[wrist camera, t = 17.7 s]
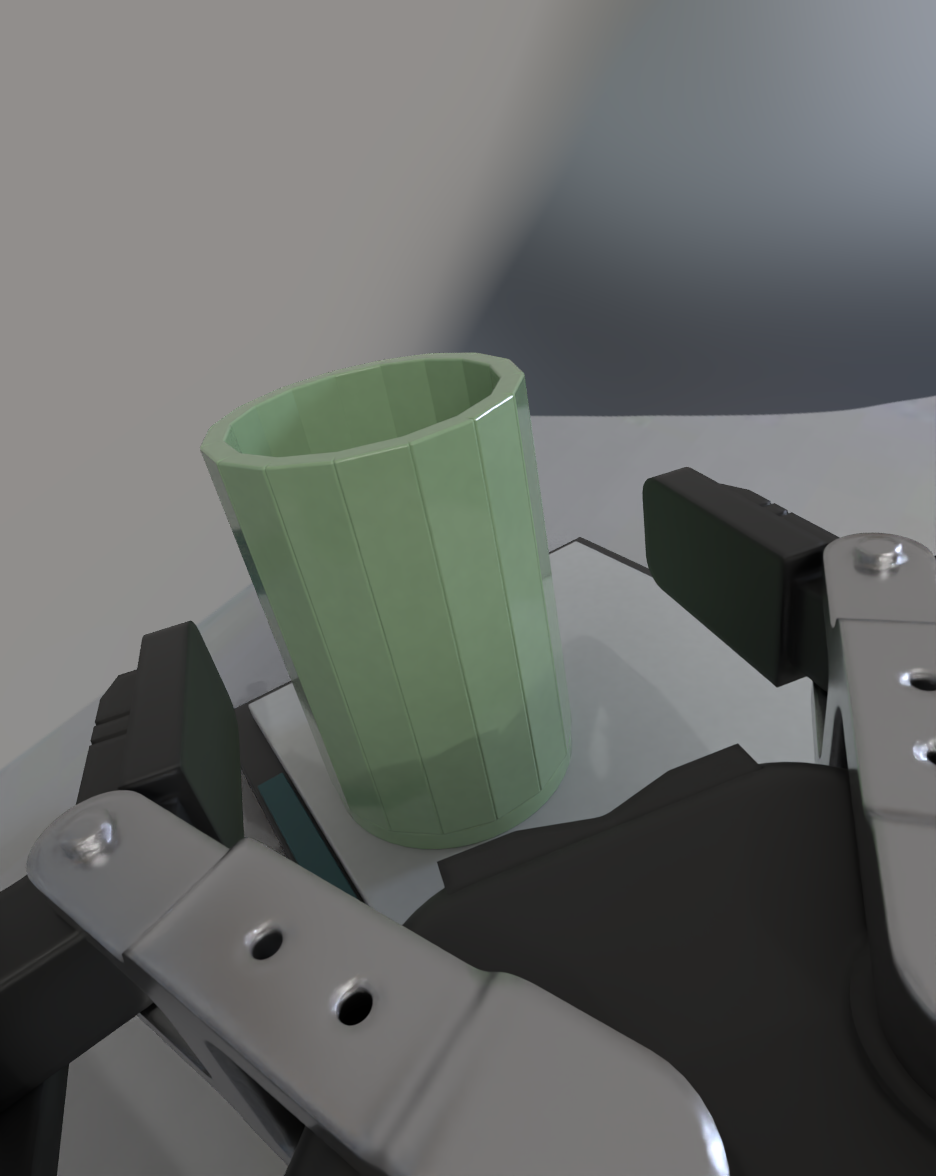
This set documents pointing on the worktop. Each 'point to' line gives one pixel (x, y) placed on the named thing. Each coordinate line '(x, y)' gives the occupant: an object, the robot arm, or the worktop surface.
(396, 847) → the scale
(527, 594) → the tumbler
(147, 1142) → the worktop surface
